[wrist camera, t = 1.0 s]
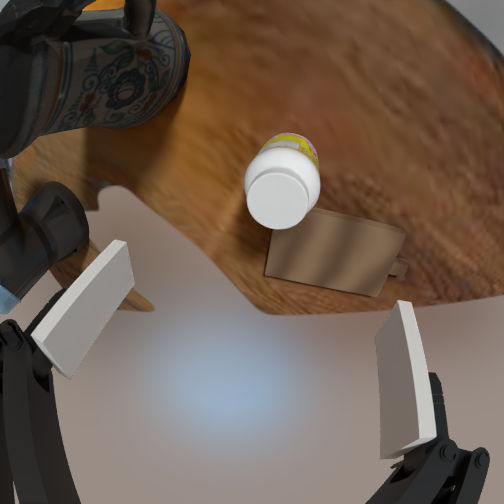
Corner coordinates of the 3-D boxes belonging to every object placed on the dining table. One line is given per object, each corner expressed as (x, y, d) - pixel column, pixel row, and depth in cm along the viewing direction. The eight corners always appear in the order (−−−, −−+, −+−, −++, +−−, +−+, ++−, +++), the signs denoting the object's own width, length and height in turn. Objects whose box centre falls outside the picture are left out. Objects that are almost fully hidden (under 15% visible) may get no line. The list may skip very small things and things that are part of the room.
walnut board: (266, 268, 40) (264, 275, 39) (278, 199, 34) (277, 204, 33) (389, 292, 38) (390, 299, 37) (418, 232, 32) (421, 238, 31)
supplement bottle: (316, 186, 32) (317, 245, 22) (262, 183, 33) (236, 238, 23) (319, 132, 28) (324, 163, 18) (260, 130, 29) (230, 159, 19)
